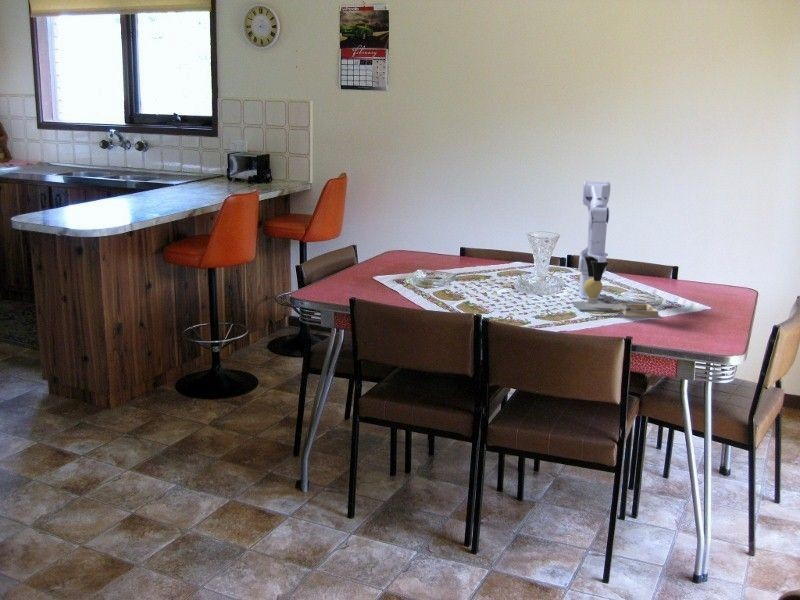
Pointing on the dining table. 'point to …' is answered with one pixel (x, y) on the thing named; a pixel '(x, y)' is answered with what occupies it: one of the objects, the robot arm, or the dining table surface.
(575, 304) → the gray square panel
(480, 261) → the dining table surface
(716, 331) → the dining table surface
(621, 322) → the dining table surface
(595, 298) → the light bulb
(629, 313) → the square wooden frame
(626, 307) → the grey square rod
